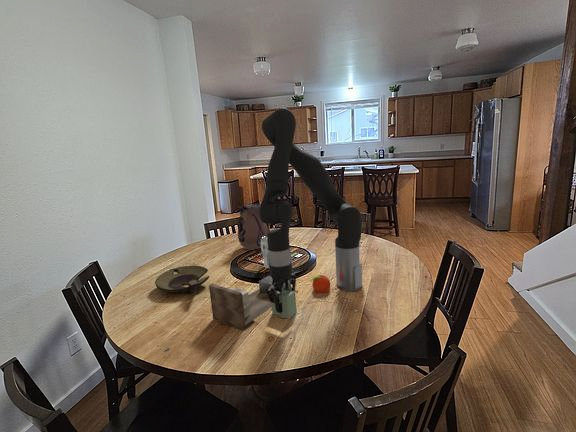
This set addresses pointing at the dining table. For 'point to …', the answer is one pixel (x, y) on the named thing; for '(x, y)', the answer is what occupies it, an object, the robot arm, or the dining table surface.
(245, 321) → the book shelf
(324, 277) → the tomato
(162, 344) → the dining table surface
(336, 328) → the dining table surface
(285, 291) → the pale green chunky prism
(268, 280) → the dark gray rectangular block
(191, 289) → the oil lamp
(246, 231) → the ceramic pitcher
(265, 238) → the beer glass
